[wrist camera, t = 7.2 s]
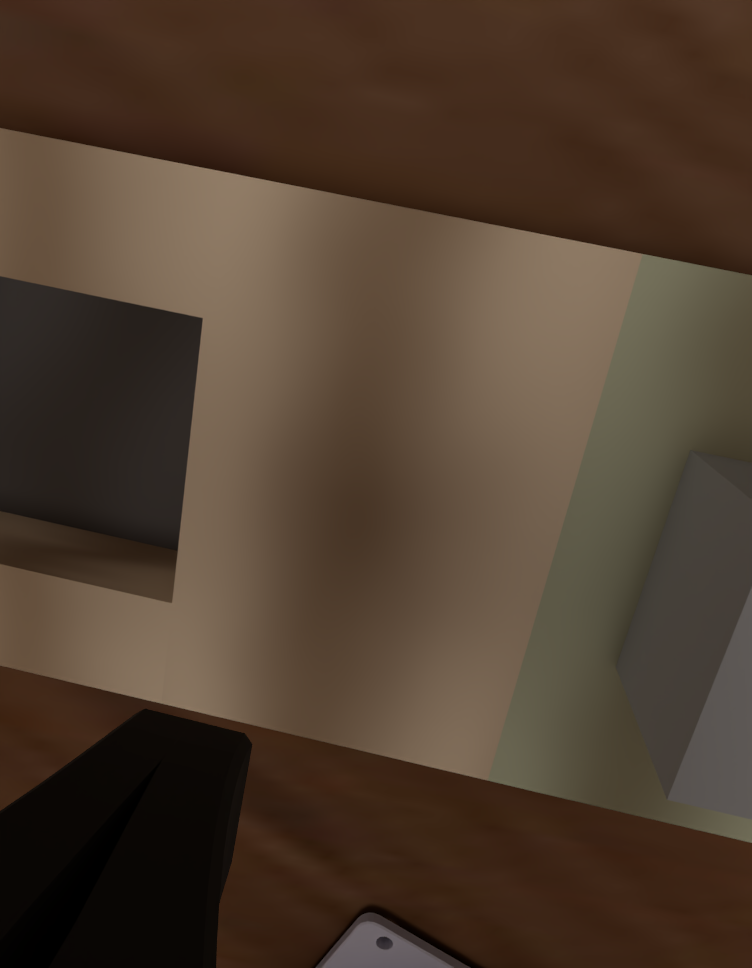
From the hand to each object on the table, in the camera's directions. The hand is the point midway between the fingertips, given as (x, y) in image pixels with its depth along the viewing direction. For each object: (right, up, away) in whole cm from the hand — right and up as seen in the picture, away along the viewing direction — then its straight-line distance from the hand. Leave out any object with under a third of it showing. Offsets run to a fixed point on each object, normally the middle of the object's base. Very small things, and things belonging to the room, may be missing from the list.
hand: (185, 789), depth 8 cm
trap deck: (+7, +3, +9) cm, 12 cm away
